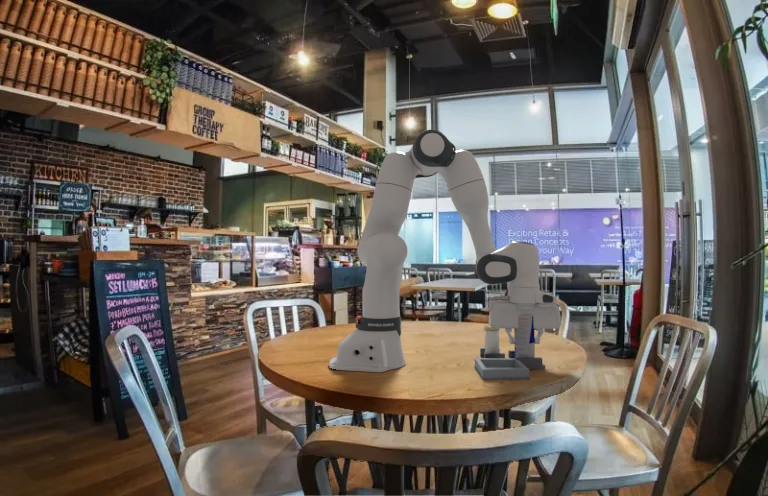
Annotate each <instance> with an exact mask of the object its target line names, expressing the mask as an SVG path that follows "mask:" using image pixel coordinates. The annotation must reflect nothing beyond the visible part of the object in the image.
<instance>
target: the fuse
mask: <svg viewBox="0 0 768 496" xmlns="http://www.w3.org/2000/svg"><path fill="white" fill-rule="evenodd" d="M483 330H484V348H485V353H499V349H500V328H492V327H491V326H490V325H489V324H488V325H487V324H486V325H484V326H483Z"/></svg>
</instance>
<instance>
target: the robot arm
mask: <svg viewBox="0 0 768 496" xmlns="http://www.w3.org/2000/svg"><path fill="white" fill-rule="evenodd" d="M436 174H439V175H441V176H442V178H443V179H444V181H445V184H446V187H447V190H448V193H449V197H450V199H451V201H452V203H453V206H454V208H455V210H456V211H457V213H458V215H459V216H460V217H461V219H462V220H463V222H464V224H465V225H466V227H467V229H468V231H469V234H470V237H471V241H472V243H473V247H474V250H475V255H476V259H475V265H474V266H475V268H474V269H475V274H476V275H477V278H478V279H479V280H480V281H482V282H483V283H485V284H486V285H490V286H497V285H500V284H505V283H507V295H506V296H496V295H495V296H493V297H491V298H489V300H488V301H487V307H488V310H489V312H488V313H489V315H488V325H490V326H491V327H492V328H499V329H504V331H505V333H506V334H507V336H508V342H509V344H510V345H515V344H516V342H515V340H516V338H515V337H514V336H513V335H512V334H511V333H512V332H513V330H512V329H514V328H518V317H519V315H526V314H528V315H532V314H533V326H534V329H536V331H537V334H536V336H534V339H535V345H540V344H541V342H540V341H541V337H542V336H543V335H544V331H545V330H544V329H559V328H560V327H561V325H562V319H561V311H560V307H559V305H557V303H558V297H557V296H556V295H554V294H551V293H547V292H546V291H541V289H540V287H541V286H540V283H539V282H540V281H539V276H540V257H539V252H538V251H539V250H538V248H537V247H536V245H535V244H534V243H531V242H528V241H521V240H513V241H510V242H509V243H508V244H506V245H504V246H502V247H500V248H499V249H497V248H496V245H495V242H494V239H493V236H492V232H491V229H490V226H489V217H488V216H489V215H488V214H489V205H490V204H489V193H488V188H487V185H486V181H485V178H484V175H483V173H482V170H481V168H480V166H479V163H478V162H477V160H476V158H475V156H474V154H473V153H472V152H471V151H469V150H466V149H458V150H456V146H455V145H454V143H452V142H451V141H450V140H449V139H448V137H447V136H446V135H445V134H444V133H443V132H441V131H439V130H437V129H426V130H424V131H422V132H420V133H419V134H418V135H417V136H416V138H415V139H414V140H413V143H412V146H411V148H410V150H408V151H406V152H402V151H392V152H390V153H388V154H387V155H385V157H384V158H383V161H382V163H381V166H380V168H379V171H378V175H377V178H376V181H375V188H374V191H373V196H372V201H371V206H370V209H369V213H368V216H367V218H366V222H365V224H364V228H363V230H362V234H361V237H360V240H359V243H358V245H357V248H356V253H357V254H356V255H357V257H358V259H359V261H360V262H361V264H363V266H365V268H366V270H365V278H364V283H363V287H362V290H361V291H362V292H361V293H362V295H361V296H362V297H361V298H362V301H361V302H362V316H361V315H357V316H356V317H355V328H356V329H355V330H353V331H352V332H350V334H348V335H346V337H344V338H343V339H342V340H341V341H340V342H339V345H338V346H337V352H336V356H334V357H332V358H331V359H330V360H329V363H328V368H330V369H331V368H332V369H331V370H333V369H336V370H337V371H351V372H367V373H368V372H372V373H383V372H386V371H389V370H394V369H399V368H402V367H404V366H405V365H406V364H407V363H406V360H405V356H404V353H403V345H402V338H401V335H402V329H403V328H402V316H401V315H400V312H401V311H400V304H401V303H400V298H401V296H400V292H401V291H400V289H401V281H402V276H403V271H404V263H405V261H406V259H407V256H408V246H407V243H406V242H405V241H406V240H404V239H403V238H402V237H401V236H399V234H400V231H401V229H402V226H403V224H404V222H405V221H406V219H407V215H408V211H409V207H410V200H411V197H412V191H413V187H414V182H415V179H419V178H420V179H421V178H429V177H433V176H435V175H436ZM518 314H519V315H518Z"/></svg>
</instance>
